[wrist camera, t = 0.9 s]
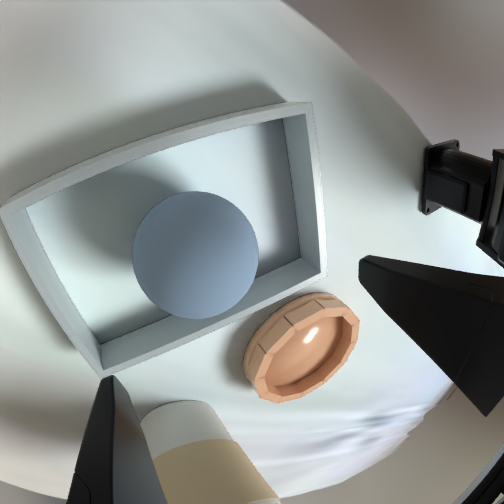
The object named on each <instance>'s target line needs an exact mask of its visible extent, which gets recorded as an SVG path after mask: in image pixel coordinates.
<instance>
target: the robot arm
mask: <svg viewBox="0 0 504 504" xmlns="http://www.w3.org/2000/svg"><path fill="white" fill-rule="evenodd" d="M492 155H493V161H490V160H487V159H484V158H481V157H478V156H475V155H471V154H468V153H465V152H462V151H459V141H458V140H455V139H454V140H450V141H447V142H442V143H439V144H435V145H431V146H428V147H426V149H425V164H424V189H423V204H422V213H423V214H425V215H429V214H430V213H432V212H434V211H436V210H437V209H439V208H441V207H444V208H447V209H449V210H451V211H453V212H456V213H458V214H460V215H462V216H465V217H467V218H469V219H471V220H473V221H475V222H477V223H479V224H481V229H480V233H479V237H478V239H477V241H476V246H478V247H479V248H480V249H482V251H483V252H485V253H486V254H487V255H488V256H490V257H491V258H492V259H493V260H494V261H496V262H497V263H498V264H499V265H500V266H502V267H503V268H504V149H493V153H492ZM358 278H359V281H360V283H361V285H362V286H363V287H364V288H365V289H366V290H367V292H368V293H369V294H370V295H371V296H372V298H373V299H374V300H375V301H376V302H377V304H378V305H379V306H380V307H381V308H382V309H383V311H384V312H385V313H386V314H387V315H388V316H389V317H390V318H391V319H392V320H393V321H394V322H395V323H396V324H397V325H398V326H399V327H400V328H401V329H402V330H403V331H404V332H405V333H406V334H407V335H408V336H409V337H410V338H411V339H412V340H413V341H414V342H415V343H416V344H417V345H418V346H419V347H420V348H421V349H422V350H423V351H424V352H425V353H426V354H427V355H428V356H429V357H430V358H431V359H432V360H433V361H434V362H435V363H436V364H437V365H438V366H439V367H440V369H441V370H442V371H443V372H444V373H445V374H446V375H447V376H448V377H449V378H450V379H451V380H452V381H453V382H454V384H456V386H457V387H458V388H459V389H460V390H461V391H462V392H463V393H464V394H465V395H466V397H467V398H468V399H469V400H470V401H471V402H472V403H473V404H474V405H475V406H476V408H477V409H478V410H479V411H480V412H481V413H482V414H483V415H484V416H485V417H487V416H488V414H489V413H490V412H491V411H492V410H493V409H494V407H495V406H496V405H497V404H498V403H499V401H500V400H501V399H502V398H503V396H504V277H499V276H490V275H482V274H474V273H468V272H463V271H455V270H452V269H446V268H441V267H435V266H430V265H424V264H418V263H413V262H407V261H401V260H396V259H390V258H384V257H378V256H372V255H367V256H365V257H364V258H362V259H360V261H359V275H358ZM500 493H502V494H504V443H503V445H502V446H501V447H500V449H499V450H498V451H497V453H496V454H495V455H494V457H493V458H492V459H491V461H490V462H489V463H488V464H487V466H486V467H485V468H484V469H483V471H482V472H481V473H480V474H479V476H478V477H477V478H476V479H475V480H474V481H473V482H472V483H471V485H470V486H469V487H468V488H467V489H466V490H465V491H464V492H463V493H462V494H461V495H460V496H459V498H458V499H457V500H456V501H455V502H454V503H453V504H492V503H493V502H494V501H495V499H496V498H497V497H498V496H499V494H500ZM66 504H168V503H167V500H166V497H165V495H164V492H163V489H162V487H161V484H160V481H159V478H158V476H157V473H156V470H155V467H154V464H153V461H152V457H151V454H150V451H149V448H148V445H147V441H146V438H145V435H144V433H143V430H142V428H141V425H140V423H139V420H138V418H137V415H136V413H135V410H134V407H133V405H132V402H131V399H130V397H129V394H128V392H127V390H126V389H125V388H124V386H123V385H122V384H121V383H120V382H119V380H118V379H117V378H116V377H115V376H114V375H110V376H107V377H105V378H103V379H102V380H101V382H100V385H99V388H98V391H97V394H96V397H95V400H94V403H93V406H92V409H91V413H90V416H89V419H88V423H87V426H86V429H85V433H84V436H83V440H82V444H81V447H80V451H79V455H78V459H77V463H76V467H75V473H74V474H73V479H72V483H71V487H70V491H69V495H68V499H67V502H66ZM496 504H504V497H502V498H501V499H500V500H499V501H498V502H497V503H496Z"/></svg>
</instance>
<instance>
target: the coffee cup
mask: <svg viewBox="0 0 504 504" xmlns="http://www.w3.org/2000/svg"><path fill="white" fill-rule="evenodd" d="M140 425H141V428H142V430H143V433H144V435H145V438H146V441H147V445H148V448H149V451H150V454H151V457H152V461H153V464H154V467H155V470H156V473H157V476H158V478H159V481H160V484H161V487H162V489H163V492H164V495H165V497H166V500H167V503H168V504H281V503H280V498H279V497H278V496H277V495H276V493H275V492H274V491H273V490H272V488H271V487H270V486H269V485H268V483H267V482H266V481H265V479H264V478H263V477H262V476H261V474H260V473H259V472H258V470H257V469H256V468H255V466H254V465H253V464H252V462H251V461H250V459H249V458H248V457H247V455H246V454H245V453H244V451H243V450H242V448H241V447H240V445H239V444H238V443H237V442H235V441H234V440H233V438H232V437H231V435H230V434H229V432H228V431H227V429H226V428H225V426H224V425H223V423H222V421H221V420H220V418H219V417H218V415H217V414H216V412H215V410H214V409H213V408H212V407H211V406H210V405H208V404H207V403H204V402H200V401H193V400H186V401H177V402H172V403H168V404H165V405H162V406H160V407H158V408H156V409H154V410H152V411H151V412H149V413H148V414H147V415H146V416H145V417H144V418H143V419H142V420H141V422H140Z"/></svg>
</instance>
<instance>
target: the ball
mask: <svg viewBox="0 0 504 504" xmlns="http://www.w3.org/2000/svg"><path fill="white" fill-rule="evenodd" d="M132 261H133V268H134V273H135V275H136V278H137V281H138V283H139V285H140V287H141V289H142V290H143V291H144V293H145V294H146V295H147V297H148V298H149V299H150V300H151V301H152V302H153V303H154V304H155V305H157V306H158V307H159V308H161V309H162V310H164V311H166V312H168V313H170V314H172V315H175V316H178V317H182V318H188V319H204V318H209V317H213V316H216V315H218V314H221V313H223V312H225V311H227V310H229V309H230V308H232V307H233V306H234V305H236V304H237V303H238V302H239V301H240V300H241V299H242V298H243V296H244V295H245V294H246V293H247V291H248V290H249V288H250V287H251V285H252V283H253V280H254V278H255V275H256V271H257V267H258V261H259V252H258V243H257V239H256V236H255V232H254V230H253V228H252V226H251V224H250V223H249V221H248V219H247V218H246V216H245V215H244V214H243V213H242V212H241V211H240V210H239V209H238V208H237V207H236V206H235V205H234V204H233V203H231V202H229V201H228V200H226V199H224V198H222V197H220V196H218V195H215V194H211V193H207V192H198V191H193V192H184V193H180V194H176V195H173V196H171V197H169V198H166V199H165V200H163V201H161V202H160V203H158V204H157V205H156V206H155V207H153V208H152V209H151V210H150V211H149V212H148V214H147V215H146V216H145V217H144V219H143V220H142V222H141V224H140V225H139V227H138V230H137V232H136V235H135V239H134V243H133V249H132Z"/></svg>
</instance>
